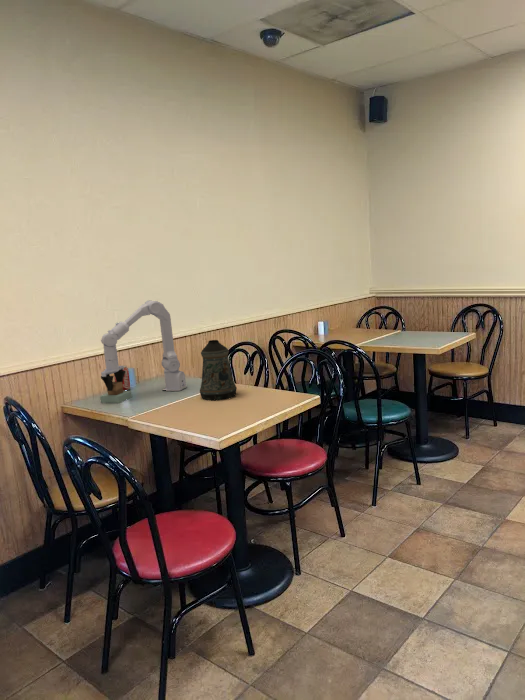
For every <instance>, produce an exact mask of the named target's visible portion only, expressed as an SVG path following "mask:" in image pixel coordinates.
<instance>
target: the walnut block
mask: <svg viewBox="0 0 525 700" xmlns="http://www.w3.org/2000/svg"><path fill="white" fill-rule="evenodd" d="M112 386H113V389H112V391H108V390H107V389H106V391H107V393H108V395H118V394H121V393H123V385H122V382H115V381H112Z"/></svg>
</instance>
